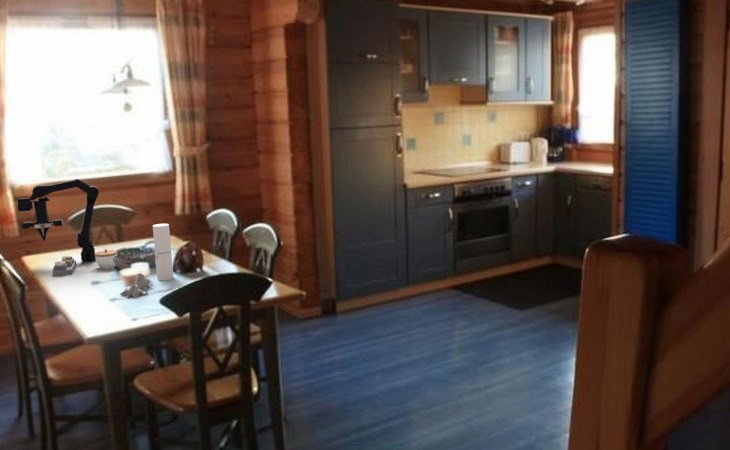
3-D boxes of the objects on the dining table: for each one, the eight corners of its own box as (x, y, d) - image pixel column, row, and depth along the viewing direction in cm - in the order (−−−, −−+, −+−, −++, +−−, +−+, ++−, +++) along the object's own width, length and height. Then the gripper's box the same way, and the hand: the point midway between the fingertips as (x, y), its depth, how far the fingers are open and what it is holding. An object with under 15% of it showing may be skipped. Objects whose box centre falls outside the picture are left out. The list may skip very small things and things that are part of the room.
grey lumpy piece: (148, 293, 293) (130, 279, 292) (133, 311, 294) (115, 297, 292) (158, 283, 313) (142, 270, 312) (144, 300, 313) (127, 286, 312)
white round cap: (73, 266, 356) (72, 255, 355) (72, 268, 352) (71, 256, 351) (63, 266, 355) (62, 255, 354) (62, 269, 351) (61, 257, 350)
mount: (76, 265, 359) (75, 257, 358) (72, 274, 339) (71, 266, 339) (57, 266, 357) (57, 259, 356) (52, 276, 337) (51, 268, 336)
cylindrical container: (169, 280, 321) (164, 226, 316) (154, 280, 322) (149, 226, 318) (176, 276, 328) (171, 223, 323) (162, 276, 329) (157, 223, 325)
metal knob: (73, 264, 350) (72, 256, 349) (72, 265, 347) (71, 257, 346) (66, 264, 349) (65, 257, 348) (66, 266, 346) (65, 258, 345)
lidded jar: (122, 264, 356) (120, 246, 354) (113, 270, 346) (111, 251, 344) (102, 265, 357) (100, 247, 355) (92, 270, 347) (90, 251, 345)
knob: (67, 271, 345) (65, 260, 344) (66, 273, 340) (64, 262, 339) (56, 272, 343) (55, 261, 342) (55, 274, 339) (54, 263, 338)
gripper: (62, 206, 366) (66, 236, 369) (23, 209, 361) (27, 239, 363) (60, 209, 355) (63, 240, 358) (19, 212, 350) (23, 243, 353)
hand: (44, 240), depth 358 cm, fingers closed
